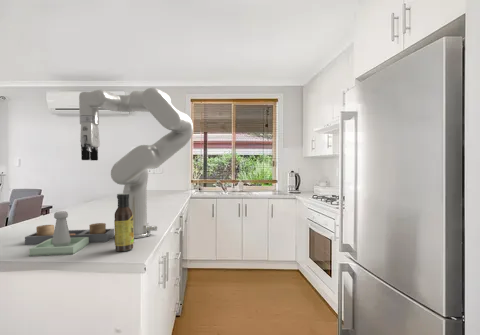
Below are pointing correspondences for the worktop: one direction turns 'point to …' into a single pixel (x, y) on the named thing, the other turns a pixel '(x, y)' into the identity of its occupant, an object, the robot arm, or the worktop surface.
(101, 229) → the oak peg
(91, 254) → the worktop surface
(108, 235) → the socket holder
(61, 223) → the salt shaker
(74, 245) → the sage tray
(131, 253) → the worktop surface
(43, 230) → the oak peg
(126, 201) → the sauce bottle
